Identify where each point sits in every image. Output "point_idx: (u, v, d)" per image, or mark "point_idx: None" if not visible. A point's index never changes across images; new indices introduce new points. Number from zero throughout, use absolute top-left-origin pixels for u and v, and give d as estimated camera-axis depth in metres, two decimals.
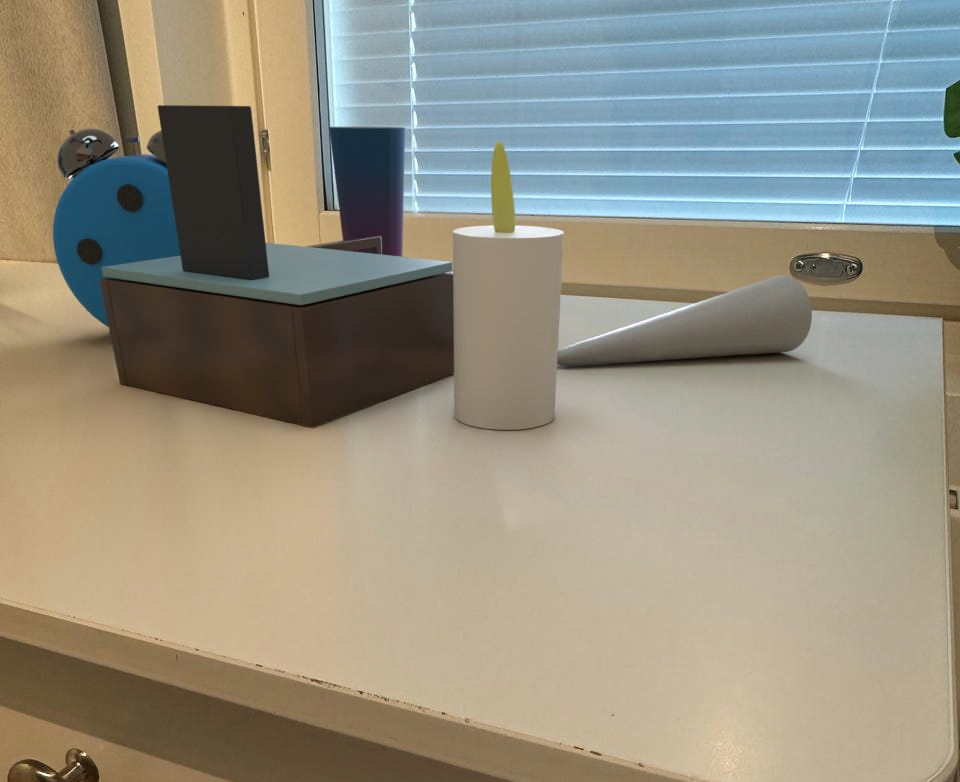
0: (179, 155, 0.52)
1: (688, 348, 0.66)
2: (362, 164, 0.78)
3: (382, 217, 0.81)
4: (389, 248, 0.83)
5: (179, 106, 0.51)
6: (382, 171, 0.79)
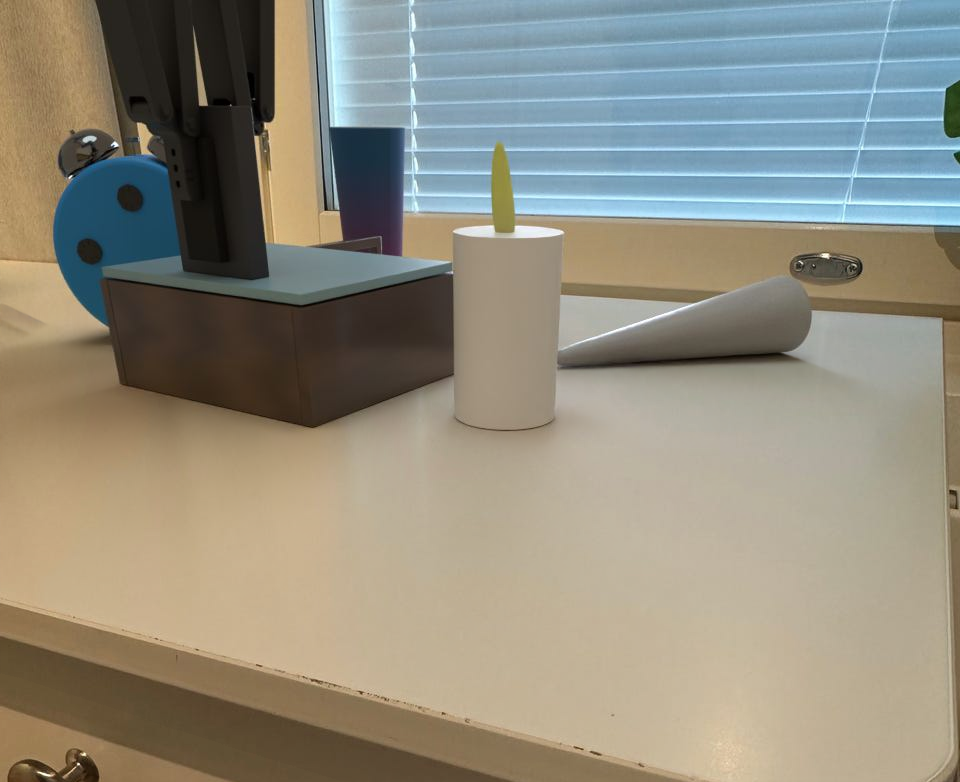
0: None
1: (688, 347, 0.66)
2: (362, 164, 0.78)
3: (382, 217, 0.81)
4: (389, 248, 0.83)
5: None
6: (382, 171, 0.79)
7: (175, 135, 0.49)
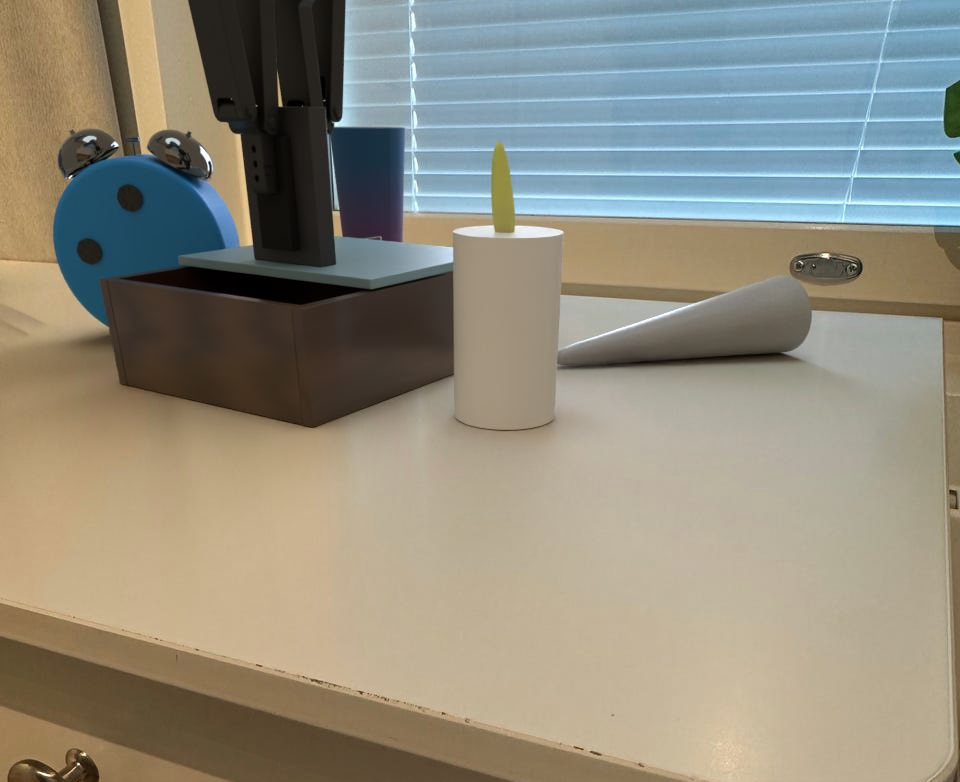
0: None
1: (688, 347, 0.66)
2: (362, 164, 0.78)
3: (382, 217, 0.81)
4: None
5: None
6: (382, 171, 0.79)
7: (256, 133, 0.54)
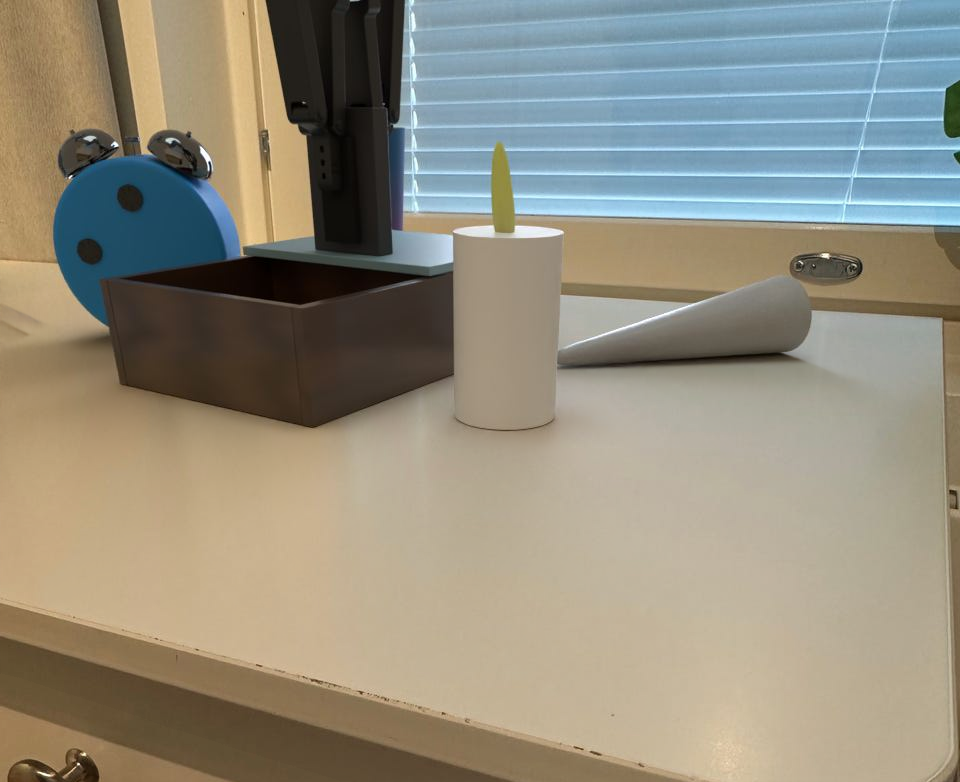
0: None
1: (688, 347, 0.66)
2: None
3: None
4: None
5: None
6: None
7: (325, 134, 0.58)
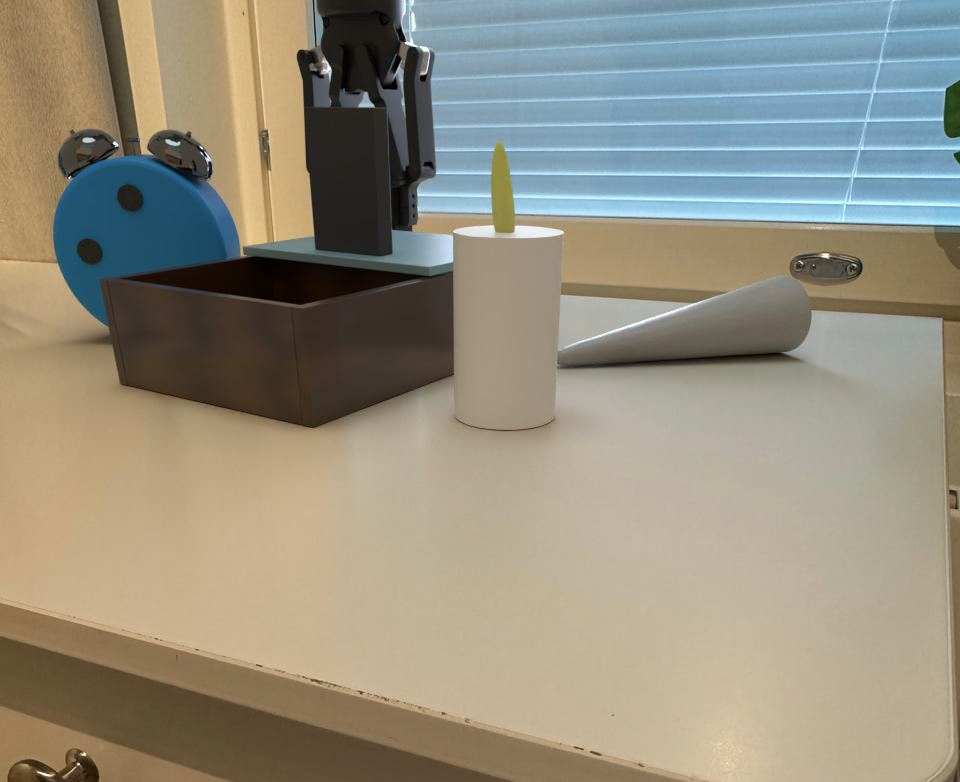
0: (320, 149, 0.61)
1: (687, 347, 0.66)
2: None
3: None
4: None
5: (324, 108, 0.60)
6: None
7: None
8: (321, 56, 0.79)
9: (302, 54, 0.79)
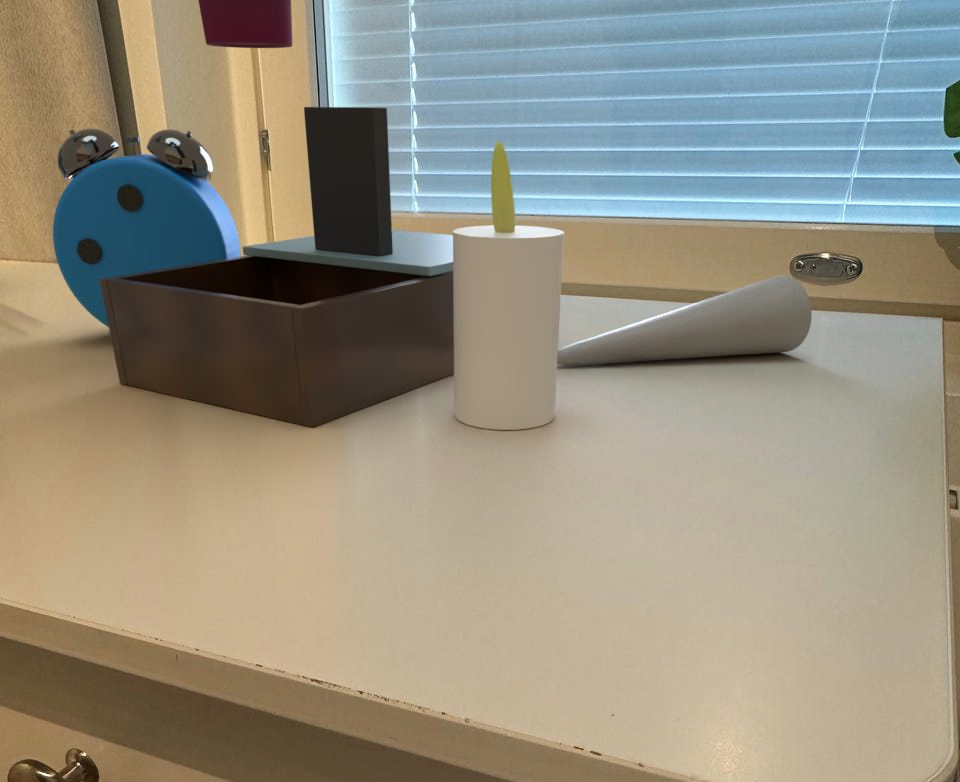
0: (320, 149, 0.61)
1: (687, 347, 0.66)
2: None
3: None
4: None
5: (324, 108, 0.60)
6: None
7: None
8: None
9: None
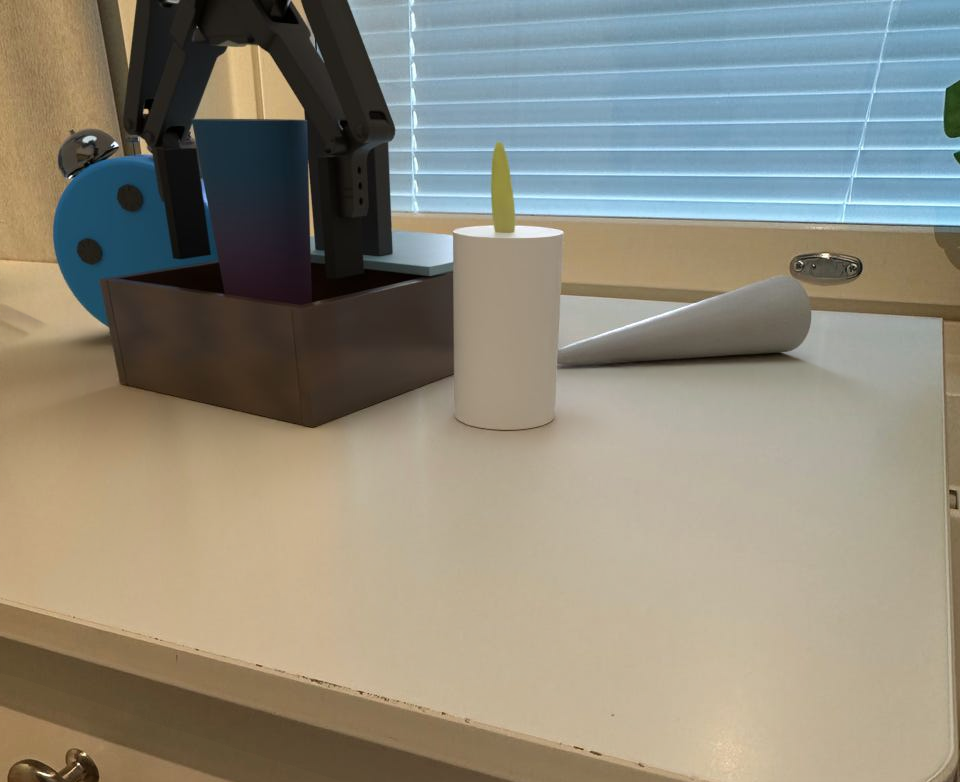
0: (320, 149, 0.61)
1: (687, 347, 0.66)
2: (239, 175, 0.52)
3: (274, 253, 0.55)
4: (289, 297, 0.57)
5: None
6: (271, 185, 0.53)
7: None
8: None
9: None
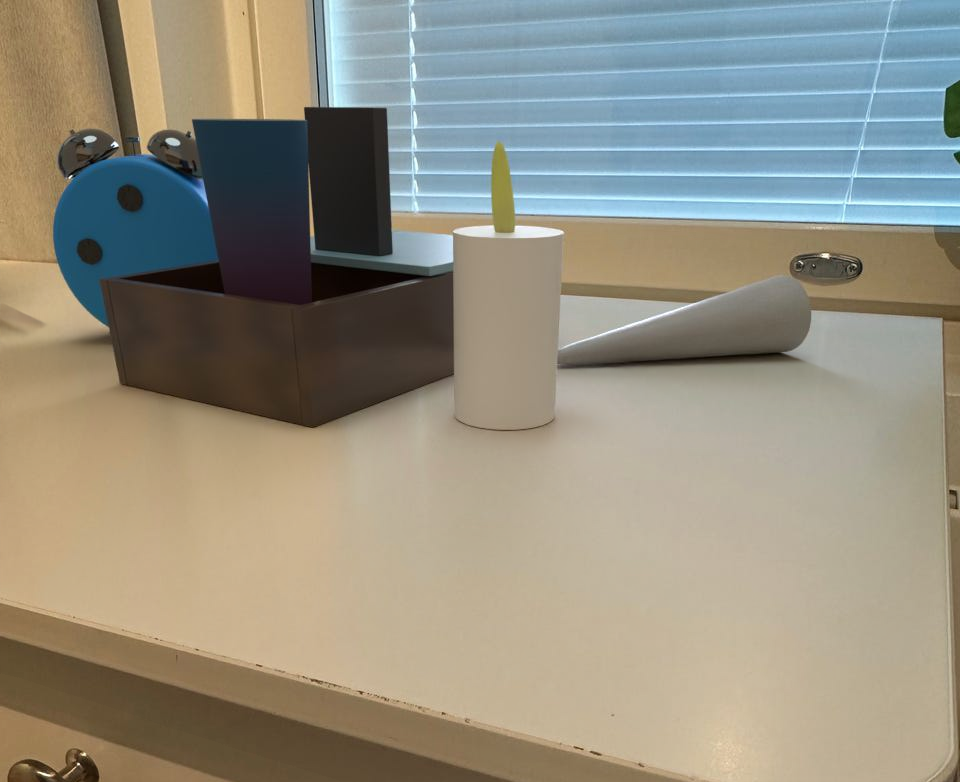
0: (320, 149, 0.61)
1: (687, 347, 0.66)
2: (239, 175, 0.52)
3: (274, 253, 0.55)
4: (289, 297, 0.57)
5: (324, 108, 0.60)
6: (271, 185, 0.53)
7: None
8: None
9: None
